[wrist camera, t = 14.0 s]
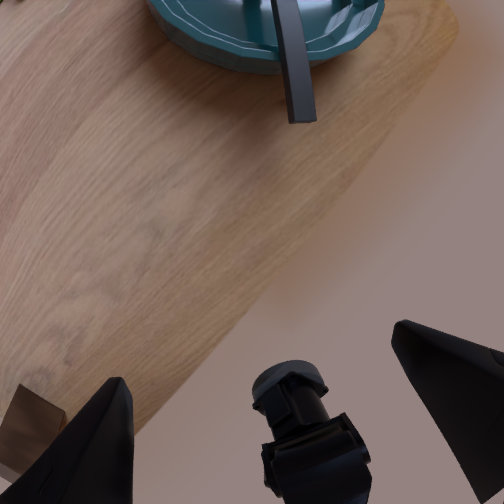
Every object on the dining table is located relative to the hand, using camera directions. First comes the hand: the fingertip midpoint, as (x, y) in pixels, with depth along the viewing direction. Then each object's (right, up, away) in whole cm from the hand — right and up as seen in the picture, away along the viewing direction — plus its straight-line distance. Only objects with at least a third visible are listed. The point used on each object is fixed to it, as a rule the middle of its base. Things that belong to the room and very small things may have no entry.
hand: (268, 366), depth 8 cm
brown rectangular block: (-25, -15, +15) cm, 33 cm away
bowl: (0, +22, +5) cm, 23 cm away
